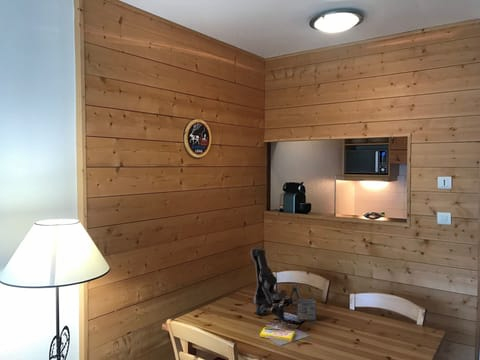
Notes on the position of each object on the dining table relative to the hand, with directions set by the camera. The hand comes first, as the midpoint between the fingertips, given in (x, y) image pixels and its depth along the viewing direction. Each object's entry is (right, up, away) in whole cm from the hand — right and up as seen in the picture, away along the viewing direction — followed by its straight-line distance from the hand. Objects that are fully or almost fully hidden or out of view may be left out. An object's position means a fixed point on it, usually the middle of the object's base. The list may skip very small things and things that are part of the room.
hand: (283, 320), depth 196 cm
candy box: (-2, -6, +1) cm, 6 cm away
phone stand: (+13, -6, +45) cm, 47 cm away
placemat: (+2, -7, -3) cm, 8 cm away
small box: (+15, -7, +21) cm, 27 cm away
